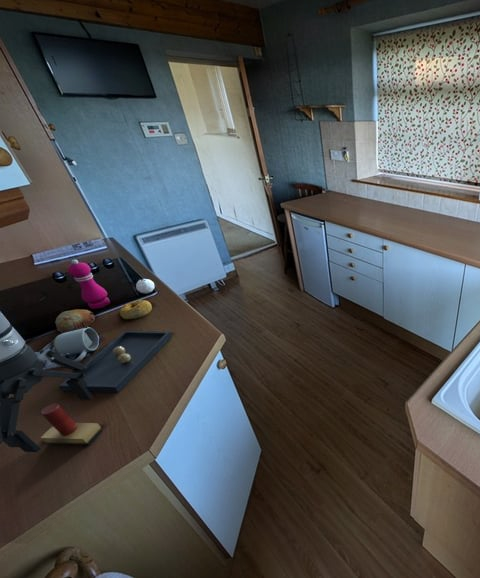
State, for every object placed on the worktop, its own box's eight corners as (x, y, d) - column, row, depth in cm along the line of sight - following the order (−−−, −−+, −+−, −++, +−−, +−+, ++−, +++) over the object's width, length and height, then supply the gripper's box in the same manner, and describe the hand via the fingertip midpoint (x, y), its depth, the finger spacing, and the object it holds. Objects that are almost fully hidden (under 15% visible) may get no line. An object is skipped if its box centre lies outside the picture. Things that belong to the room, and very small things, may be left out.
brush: (47, 445, 69) (17, 416, 63) (63, 429, 72) (36, 400, 67) (89, 446, 69) (63, 417, 63) (103, 430, 72) (80, 401, 66)
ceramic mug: (71, 346, 97) (58, 328, 93) (102, 340, 100) (90, 322, 96) (55, 369, 89) (40, 350, 85) (89, 361, 92) (76, 343, 87)
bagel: (153, 302, 120) (148, 292, 117) (153, 316, 112) (148, 306, 109) (123, 309, 115) (117, 299, 112) (120, 324, 107) (114, 314, 105)
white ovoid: (140, 297, 122) (131, 281, 118) (139, 291, 126) (131, 275, 122) (157, 293, 125) (149, 277, 121) (156, 287, 129) (149, 271, 125)
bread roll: (67, 332, 108) (43, 321, 102) (93, 310, 113) (71, 299, 106) (76, 342, 104) (51, 332, 98) (102, 319, 108) (80, 308, 102)
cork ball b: (117, 365, 89) (113, 358, 88) (125, 358, 92) (121, 351, 90) (127, 365, 89) (123, 358, 88) (134, 358, 92) (130, 351, 90)
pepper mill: (110, 306, 117) (83, 261, 106) (86, 311, 113) (57, 265, 103) (113, 297, 122) (88, 254, 111) (90, 302, 119) (63, 258, 108)
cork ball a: (112, 357, 92) (108, 350, 90) (120, 351, 94) (115, 344, 93) (122, 358, 92) (117, 351, 90) (129, 351, 94) (125, 344, 93)
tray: (63, 391, 82) (58, 385, 81) (127, 335, 102) (124, 330, 101) (118, 392, 82) (114, 387, 81) (172, 336, 102) (169, 331, 101)
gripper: (-67, 410, 46) (21, 479, 57) (76, 316, 66) (119, 380, 78) (-114, 409, 46) (-17, 478, 57) (44, 315, 67) (92, 380, 78)
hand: (62, 422), depth 67 cm, fingers open, 12 cm apart
